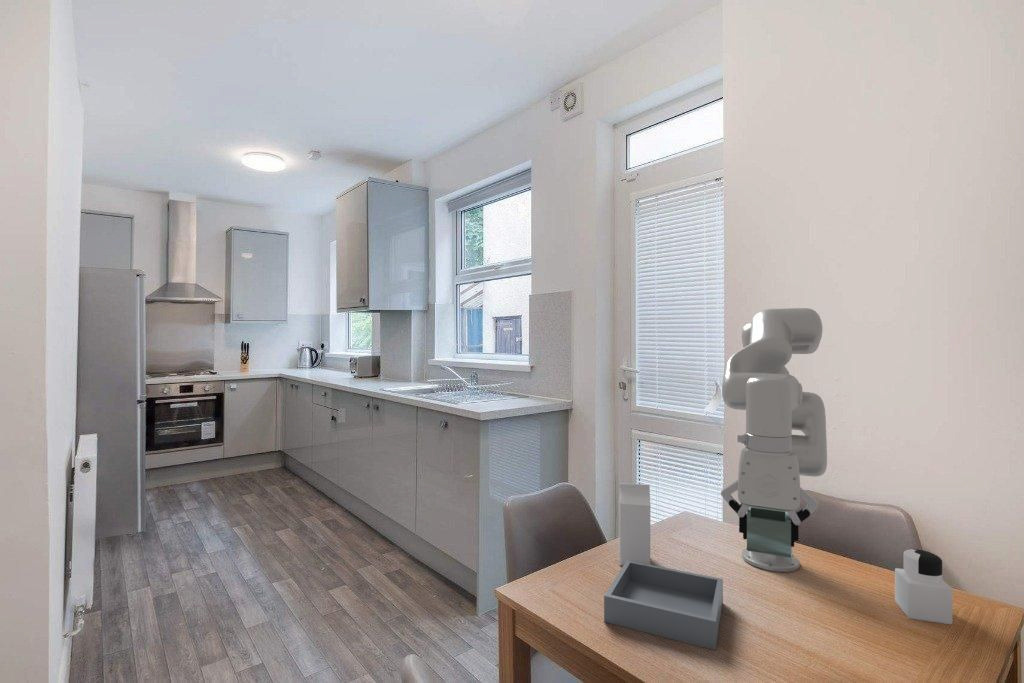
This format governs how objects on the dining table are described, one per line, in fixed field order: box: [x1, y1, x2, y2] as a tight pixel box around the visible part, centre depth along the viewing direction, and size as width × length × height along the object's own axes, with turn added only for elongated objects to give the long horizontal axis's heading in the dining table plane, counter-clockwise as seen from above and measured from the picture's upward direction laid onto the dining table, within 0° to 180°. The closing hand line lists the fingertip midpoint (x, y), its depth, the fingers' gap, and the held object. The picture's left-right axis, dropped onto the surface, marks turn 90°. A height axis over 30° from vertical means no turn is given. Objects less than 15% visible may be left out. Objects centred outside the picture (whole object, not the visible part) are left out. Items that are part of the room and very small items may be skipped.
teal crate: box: [746, 506, 791, 558], centre depth 93 cm, size 7×7×6 cm
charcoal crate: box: [603, 560, 724, 651], centre depth 101 cm, size 18×20×5 cm
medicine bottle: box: [894, 548, 953, 626], centre depth 101 cm, size 7×7×12 cm
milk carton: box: [619, 482, 651, 566], centre depth 125 cm, size 7×7×19 cm
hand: (768, 539), depth 93 cm, fingers closed on teal crate, 7 cm apart
